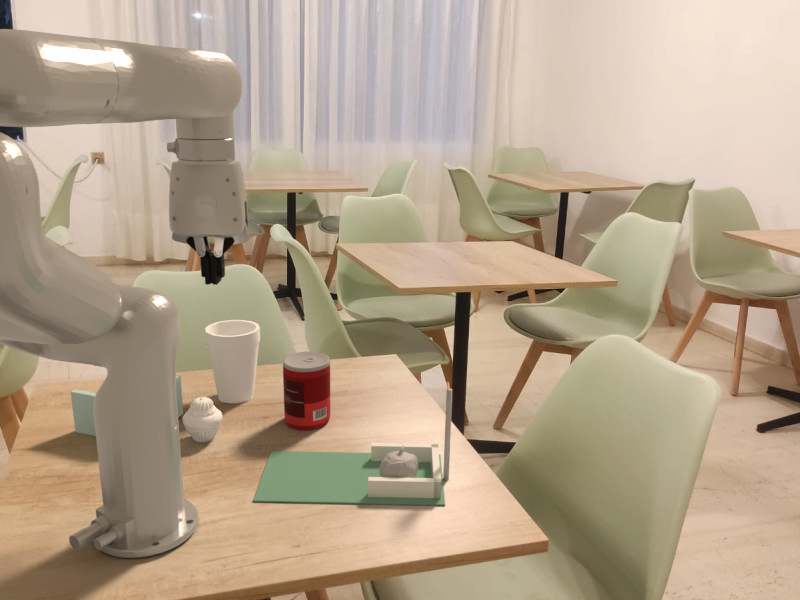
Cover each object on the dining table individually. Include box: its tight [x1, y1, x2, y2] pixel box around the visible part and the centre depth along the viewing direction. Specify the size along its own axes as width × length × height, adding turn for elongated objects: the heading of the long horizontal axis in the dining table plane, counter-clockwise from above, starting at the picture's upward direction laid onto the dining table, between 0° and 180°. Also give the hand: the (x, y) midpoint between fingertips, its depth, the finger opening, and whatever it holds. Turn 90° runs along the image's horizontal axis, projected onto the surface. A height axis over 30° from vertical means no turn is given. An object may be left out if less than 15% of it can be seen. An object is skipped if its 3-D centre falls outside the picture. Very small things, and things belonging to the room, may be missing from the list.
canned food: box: [282, 351, 331, 431], centre depth 122 cm, size 8×8×11 cm
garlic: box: [379, 445, 418, 478], centre depth 104 cm, size 6×5×5 cm
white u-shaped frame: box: [368, 381, 453, 498], centre depth 104 cm, size 11×11×14 cm
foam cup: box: [204, 319, 261, 404], centre depth 131 cm, size 10×9×13 cm
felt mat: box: [252, 450, 446, 507], centre depth 106 cm, size 26×14×1 cm, turn 90°
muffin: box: [182, 396, 224, 443], centre depth 116 cm, size 6×6×7 cm
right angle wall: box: [70, 374, 184, 437], centre depth 121 cm, size 12×12×8 cm
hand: (213, 281), depth 105 cm, fingers closed
